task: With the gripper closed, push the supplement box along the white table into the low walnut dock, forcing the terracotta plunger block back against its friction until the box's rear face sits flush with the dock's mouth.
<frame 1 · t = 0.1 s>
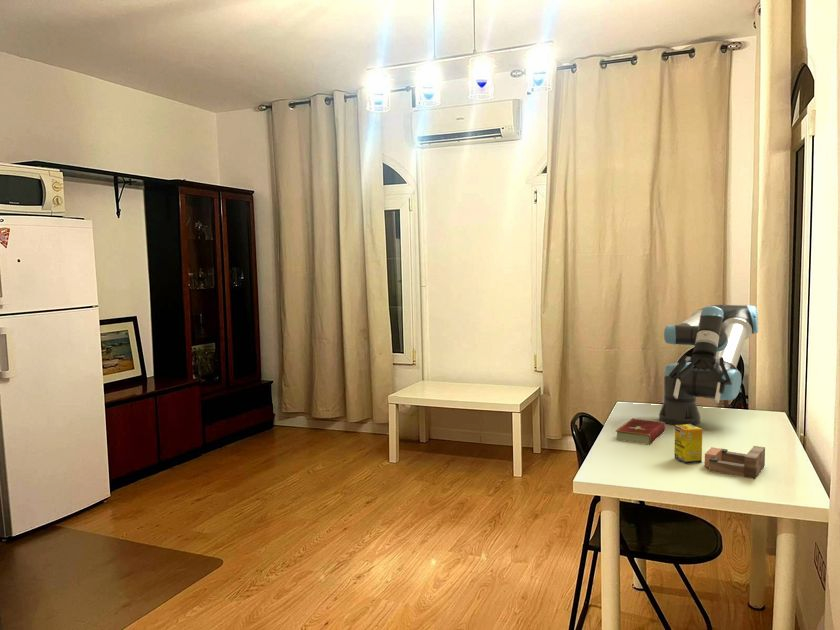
hand: (695, 399, 220), 15 cm above the table, tool tilted 35°, fingers open, 13 cm apart
dock: (732, 468, 194), on the table
hardcover book: (640, 437, 232), on the table
plunger block: (713, 457, 197), point 2 cm above the table, slide at 0.0 cm
supplement box: (687, 461, 202), on the table
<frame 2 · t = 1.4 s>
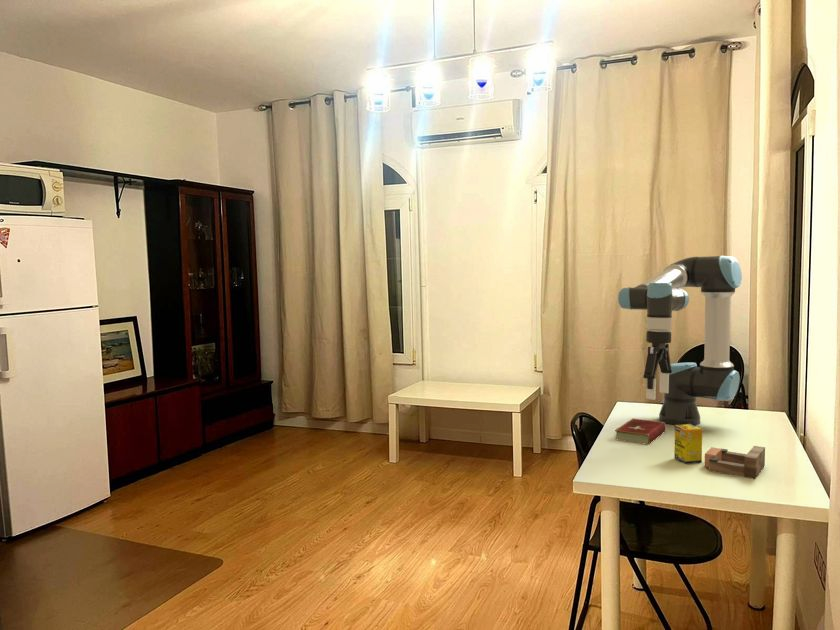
hand: (657, 395, 207), 20 cm above the table, tool pointing down, fingers open, 13 cm apart
nothing on the table moved.
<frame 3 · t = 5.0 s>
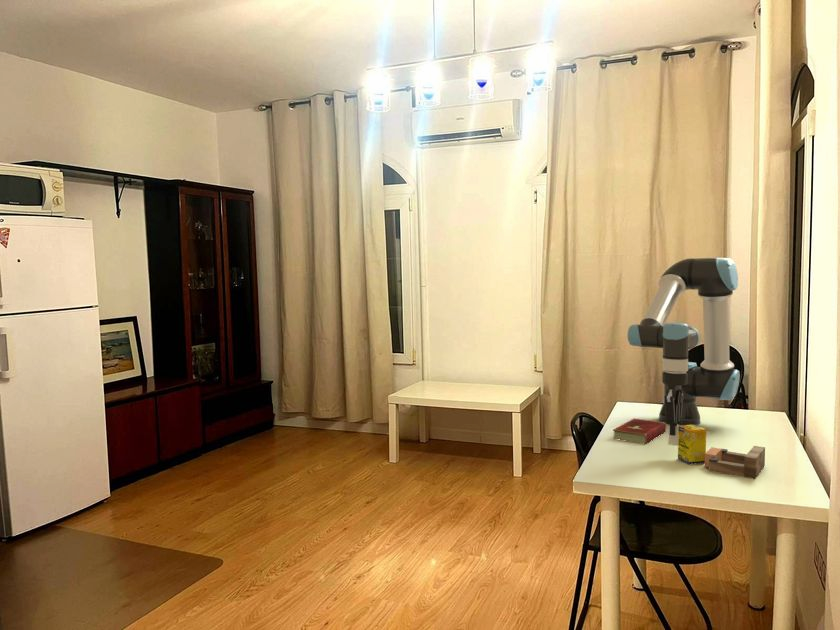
hand: (673, 444, 204), 4 cm above the table, tool pointing down, fingers closed
supplement box: (691, 461, 201), on the table, touching gripper
everything else where it was.
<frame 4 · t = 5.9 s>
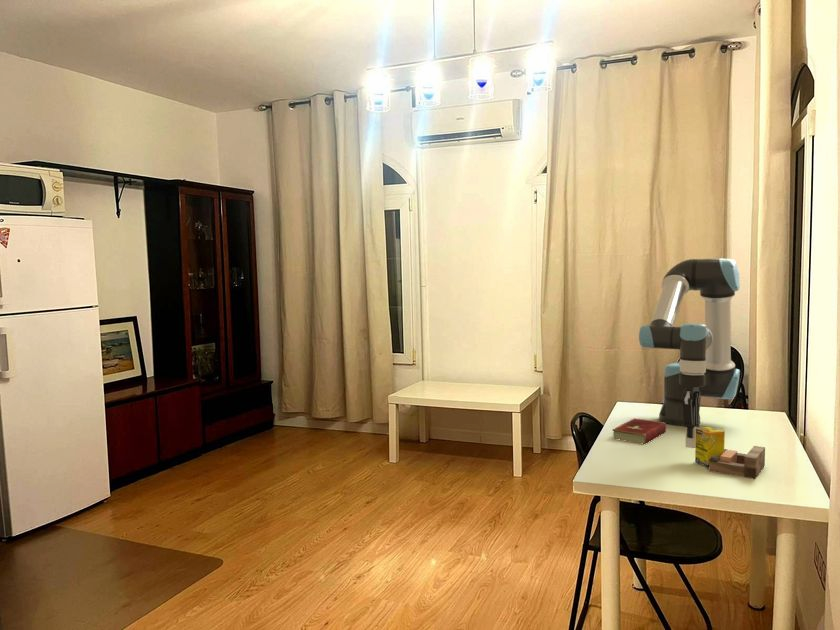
hand: (690, 447, 201), 4 cm above the table, tool pointing down, fingers closed
plunger block: (728, 459, 194), point 2 cm above the table, slide at 4.4 cm, touching supplement box
supplement box: (709, 464, 198), on the table, touching gripper, plunger block
everything else where it was.
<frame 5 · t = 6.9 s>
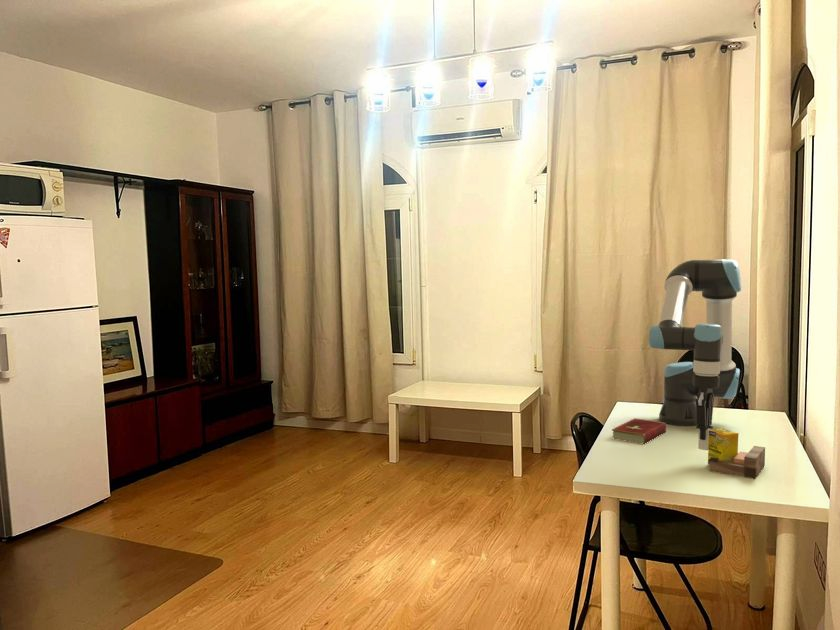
hand: (703, 449, 198), 5 cm above the table, tool pointing down, fingers closed
plunger block: (742, 462, 192), point 2 cm above the table, slide at 8.2 cm, touching supplement box
supplement box: (722, 466, 195), on the table, touching gripper, plunger block
everything else where it was.
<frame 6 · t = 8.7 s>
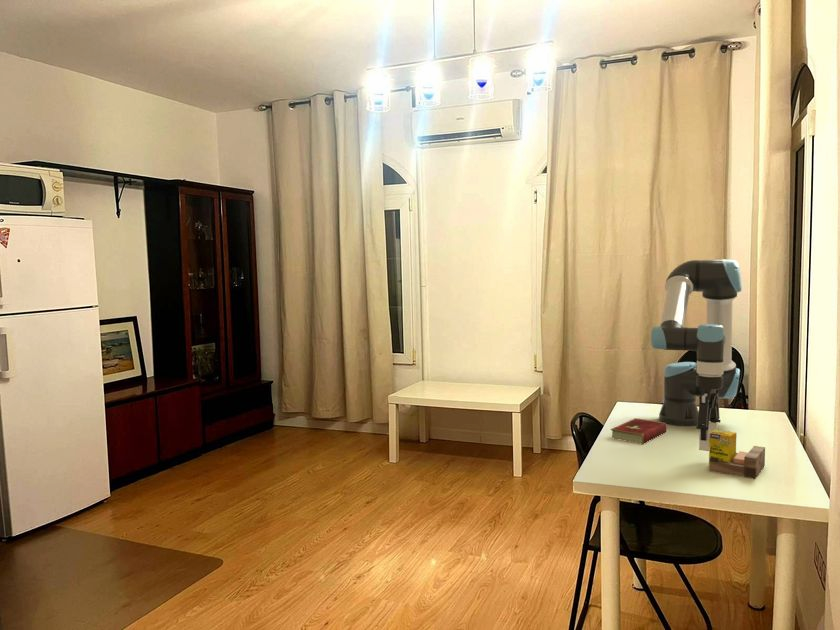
hand: (708, 446, 198), 5 cm above the table, tool pointing down, fingers open, 9 cm apart
plunger block: (742, 462, 192), point 2 cm above the table, slide at 8.1 cm
supplement box: (722, 468, 194), on the table
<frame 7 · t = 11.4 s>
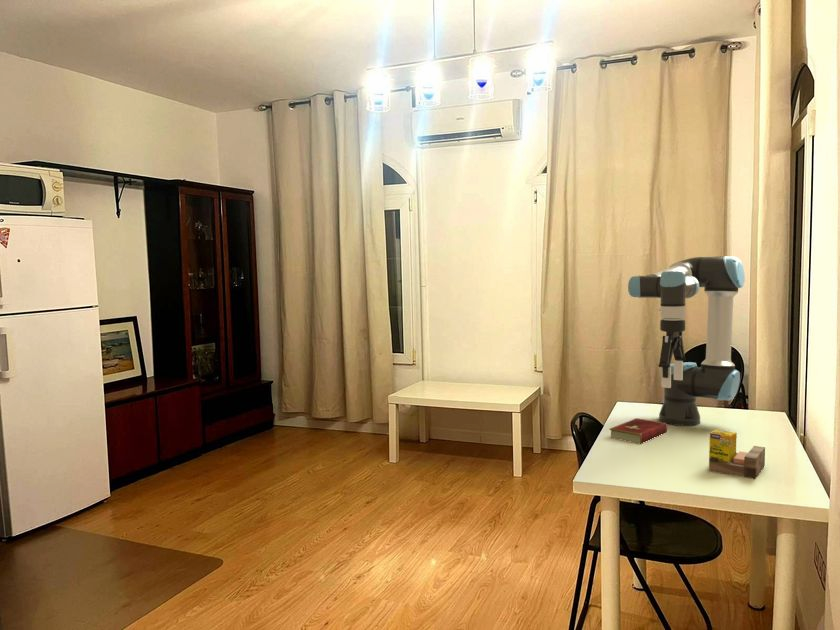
hand: (672, 383, 208), 23 cm above the table, tool pointing down, fingers open, 13 cm apart
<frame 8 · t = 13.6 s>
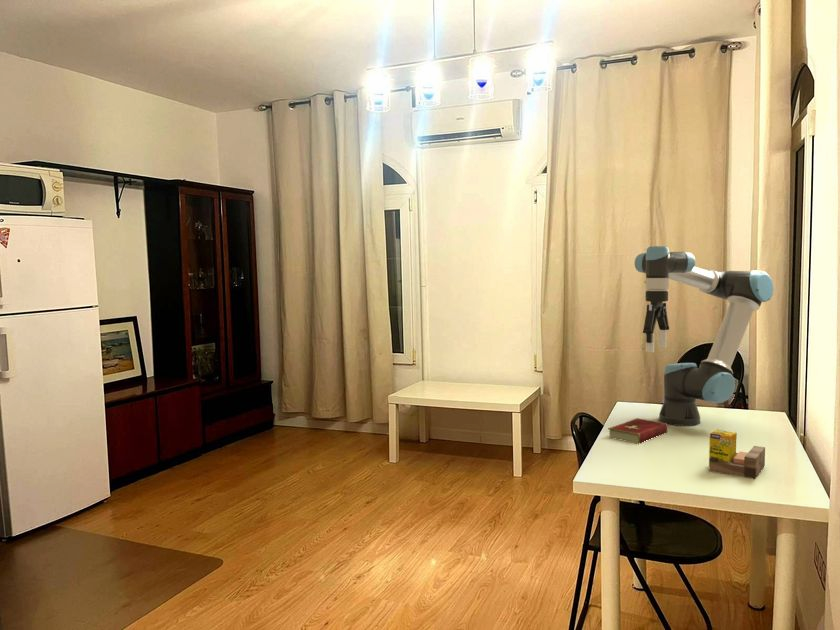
hand: (656, 350, 226), 32 cm above the table, tool pointing down, fingers open, 13 cm apart
at the end: plunger block slide at 8.1 cm; supplement box 1.4 cm from the target spot on the dock, point 0.0 cm above the dock's base; supplement box tilted 0° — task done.
